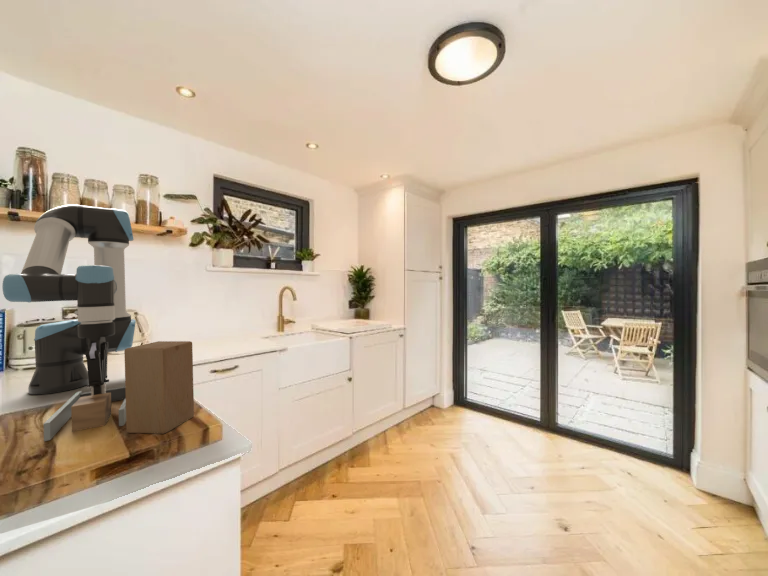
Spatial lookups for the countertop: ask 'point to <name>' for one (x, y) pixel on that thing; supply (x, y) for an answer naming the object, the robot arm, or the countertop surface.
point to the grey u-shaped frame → (65, 414)
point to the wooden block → (158, 386)
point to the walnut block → (91, 411)
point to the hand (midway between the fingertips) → (99, 408)
